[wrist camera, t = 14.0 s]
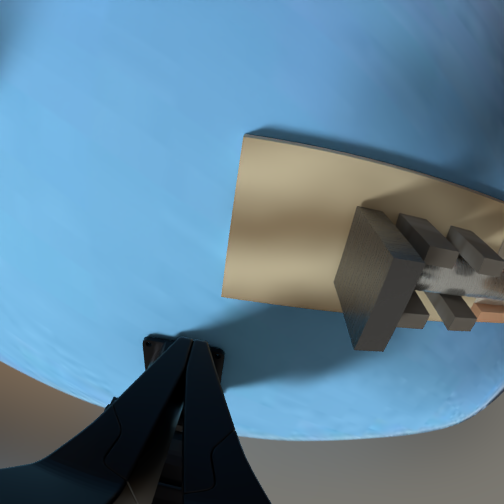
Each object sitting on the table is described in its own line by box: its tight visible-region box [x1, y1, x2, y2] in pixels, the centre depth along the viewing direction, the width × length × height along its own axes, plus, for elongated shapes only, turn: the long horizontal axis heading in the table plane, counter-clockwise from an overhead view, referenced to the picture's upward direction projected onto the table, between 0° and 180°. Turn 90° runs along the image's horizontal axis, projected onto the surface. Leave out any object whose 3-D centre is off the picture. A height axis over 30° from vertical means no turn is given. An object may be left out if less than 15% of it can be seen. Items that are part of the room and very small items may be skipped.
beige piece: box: [221, 134, 504, 331], centre depth 17 cm, size 10×19×5 cm, turn 81°
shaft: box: [334, 206, 504, 352], centre depth 16 cm, size 5×14×6 cm, turn 81°
